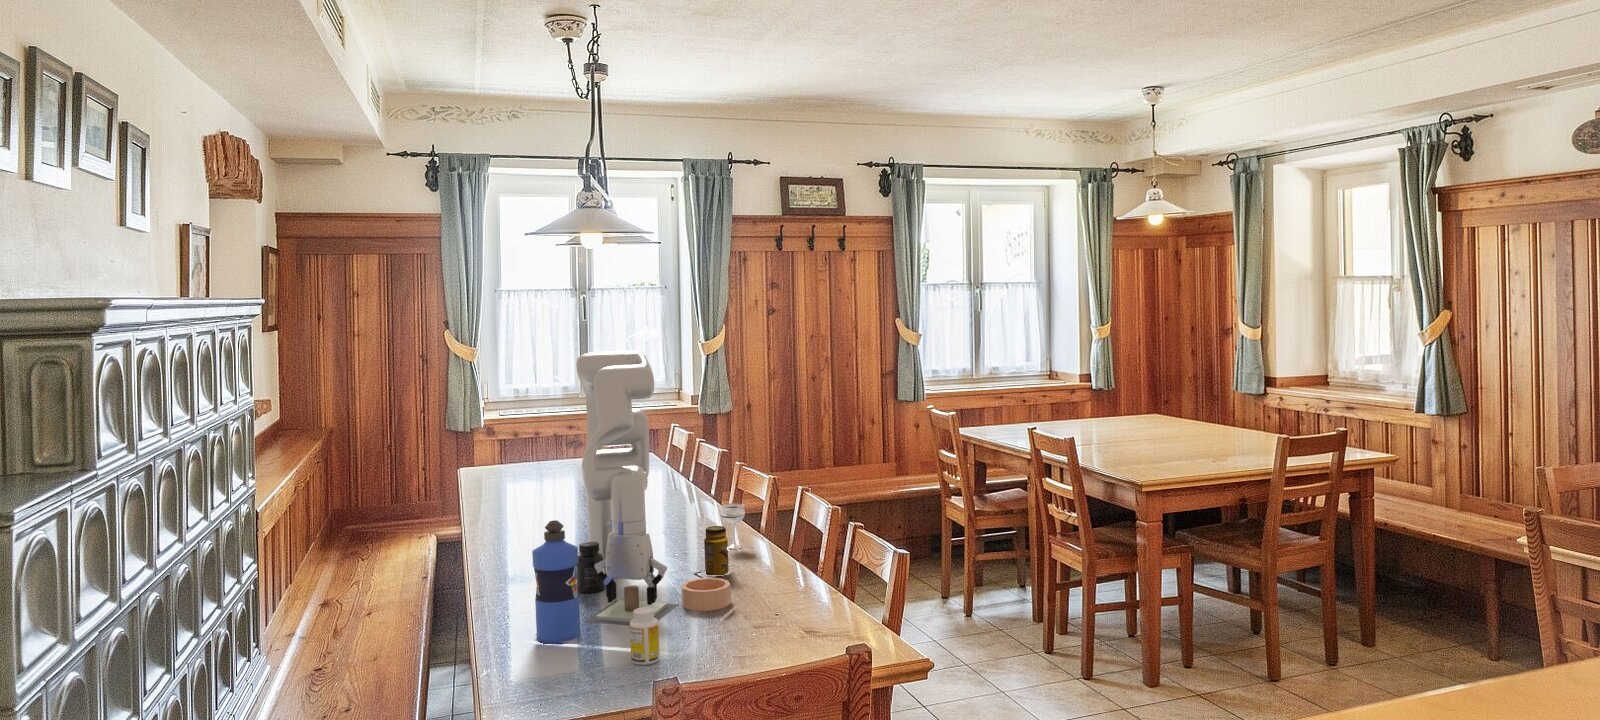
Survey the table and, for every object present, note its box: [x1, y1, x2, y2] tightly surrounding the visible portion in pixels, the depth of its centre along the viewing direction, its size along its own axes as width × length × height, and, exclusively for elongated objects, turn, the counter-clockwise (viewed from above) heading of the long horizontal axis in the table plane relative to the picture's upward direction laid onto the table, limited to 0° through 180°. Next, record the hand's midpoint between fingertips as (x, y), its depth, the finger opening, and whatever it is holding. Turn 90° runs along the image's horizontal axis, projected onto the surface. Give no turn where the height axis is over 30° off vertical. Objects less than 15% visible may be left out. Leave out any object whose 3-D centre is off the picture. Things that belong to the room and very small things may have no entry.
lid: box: [596, 585, 668, 622], centre depth 230 cm, size 12×12×6 cm
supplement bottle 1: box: [576, 541, 606, 595], centre depth 250 cm, size 7×7×12 cm
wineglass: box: [720, 502, 746, 548], centre depth 290 cm, size 7×7×12 cm
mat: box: [583, 600, 680, 626], centre depth 231 cm, size 16×16×1 cm
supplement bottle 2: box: [629, 607, 660, 666], centre depth 201 cm, size 6×6×10 cm
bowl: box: [680, 577, 732, 612], centre depth 236 cm, size 11×11×5 cm
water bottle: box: [532, 520, 582, 645], centre depth 216 cm, size 9×9×25 cm
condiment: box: [692, 525, 729, 575], centre depth 263 cm, size 7×8×12 cm
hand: (631, 601), depth 230 cm, fingers open, 9 cm apart
